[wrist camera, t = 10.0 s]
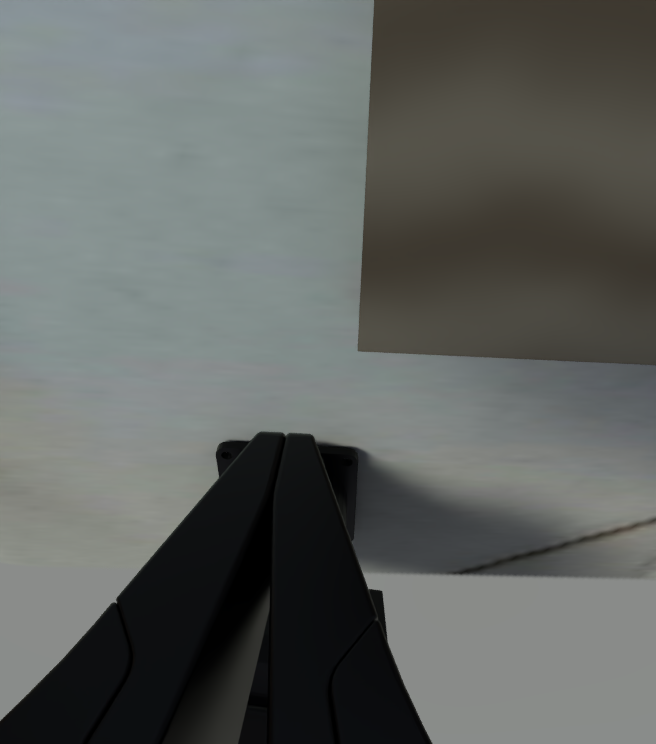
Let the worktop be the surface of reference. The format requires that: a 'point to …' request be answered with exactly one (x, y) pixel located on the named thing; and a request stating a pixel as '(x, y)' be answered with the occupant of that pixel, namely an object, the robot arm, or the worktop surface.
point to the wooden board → (511, 180)
